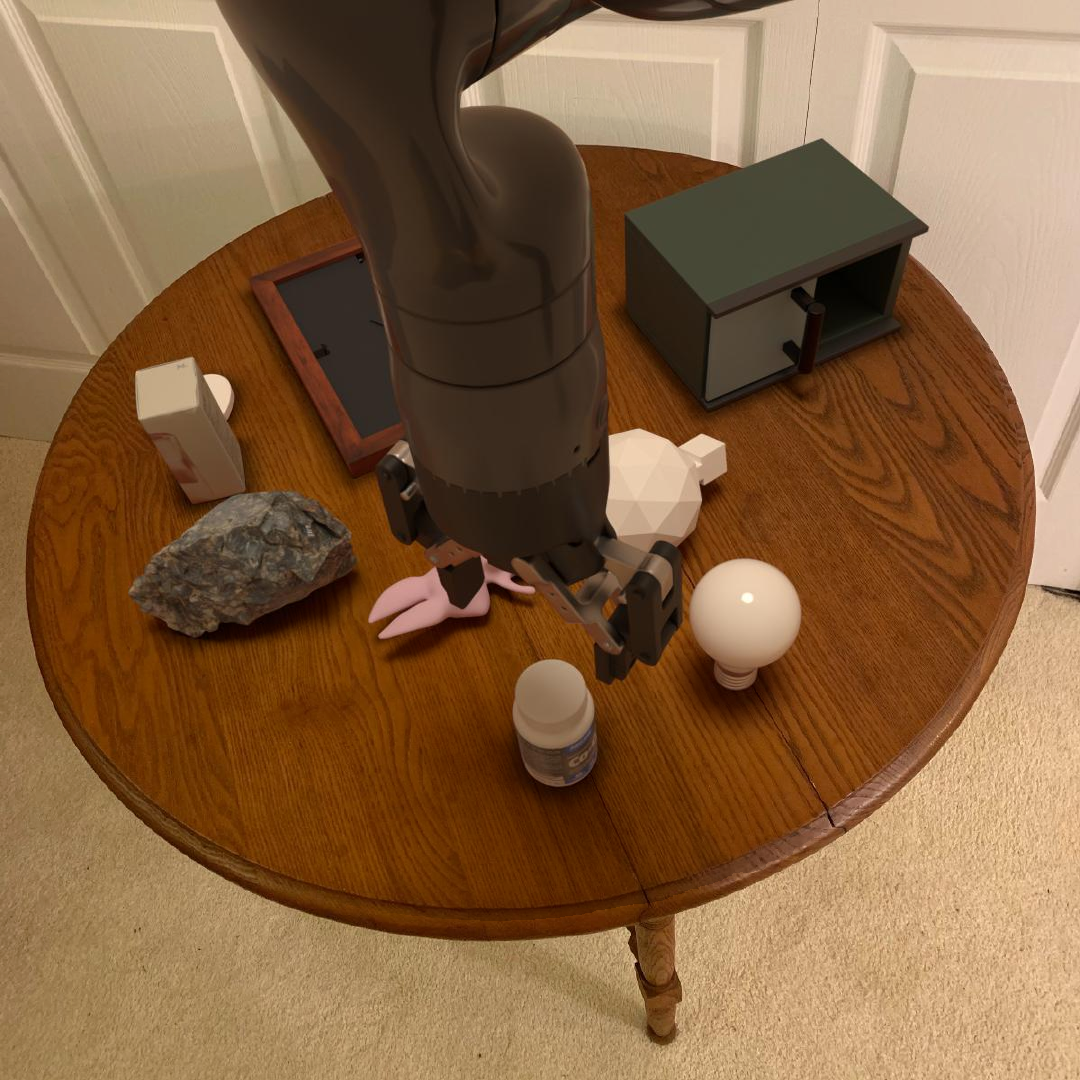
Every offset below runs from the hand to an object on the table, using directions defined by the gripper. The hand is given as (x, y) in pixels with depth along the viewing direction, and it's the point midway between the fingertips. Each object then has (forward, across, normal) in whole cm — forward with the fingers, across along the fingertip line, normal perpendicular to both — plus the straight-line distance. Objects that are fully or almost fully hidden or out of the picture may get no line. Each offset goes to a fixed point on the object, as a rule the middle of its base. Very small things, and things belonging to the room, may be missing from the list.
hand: (539, 630), depth 50 cm
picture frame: (+15, -31, +26) cm, 43 cm away
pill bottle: (+15, 0, 0) cm, 15 cm away
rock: (+15, -24, -1) cm, 29 cm away
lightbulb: (+15, +7, +10) cm, 20 cm away
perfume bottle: (+15, -3, +18) cm, 24 cm away
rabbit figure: (+15, -11, +7) cm, 20 cm away
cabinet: (+15, -6, +41) cm, 44 cm away
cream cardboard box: (+15, -35, +6) cm, 39 cm away
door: (+14, -1, +33) cm, 36 cm away
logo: (+15, -42, +11) cm, 46 cm away
